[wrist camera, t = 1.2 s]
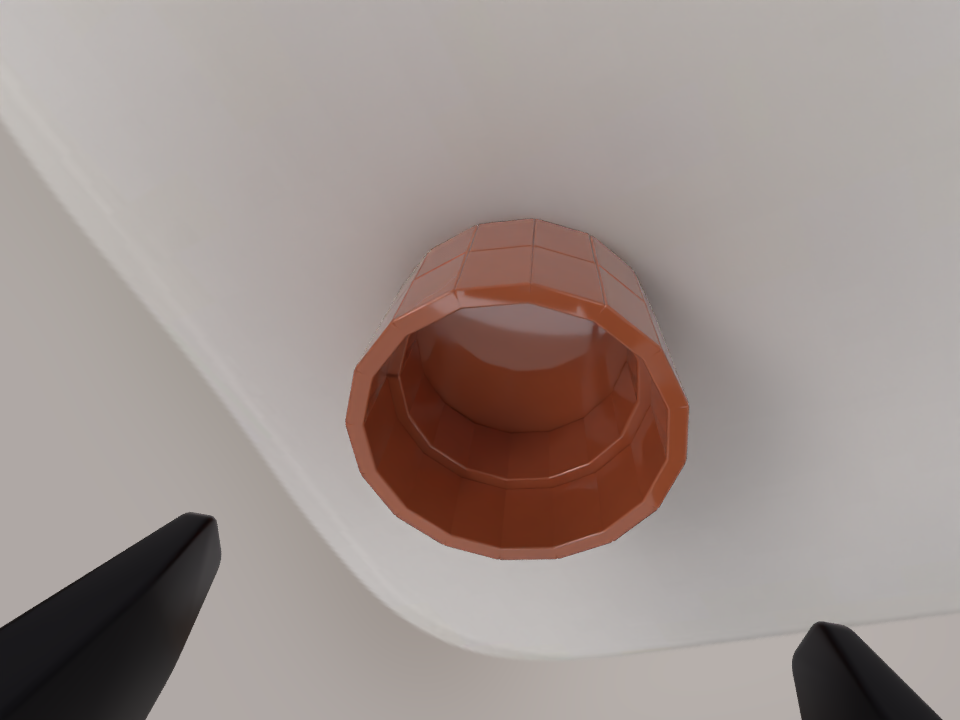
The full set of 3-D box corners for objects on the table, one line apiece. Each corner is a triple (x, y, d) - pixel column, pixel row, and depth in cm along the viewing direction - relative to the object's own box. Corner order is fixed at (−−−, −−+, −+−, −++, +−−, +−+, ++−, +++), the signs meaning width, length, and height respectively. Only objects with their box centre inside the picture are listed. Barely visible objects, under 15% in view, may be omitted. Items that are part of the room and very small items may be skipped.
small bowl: (708, 325, 15) (766, 431, 11) (536, 476, 18) (533, 601, 14) (500, 153, 13) (480, 204, 9) (351, 351, 16) (289, 452, 12)
